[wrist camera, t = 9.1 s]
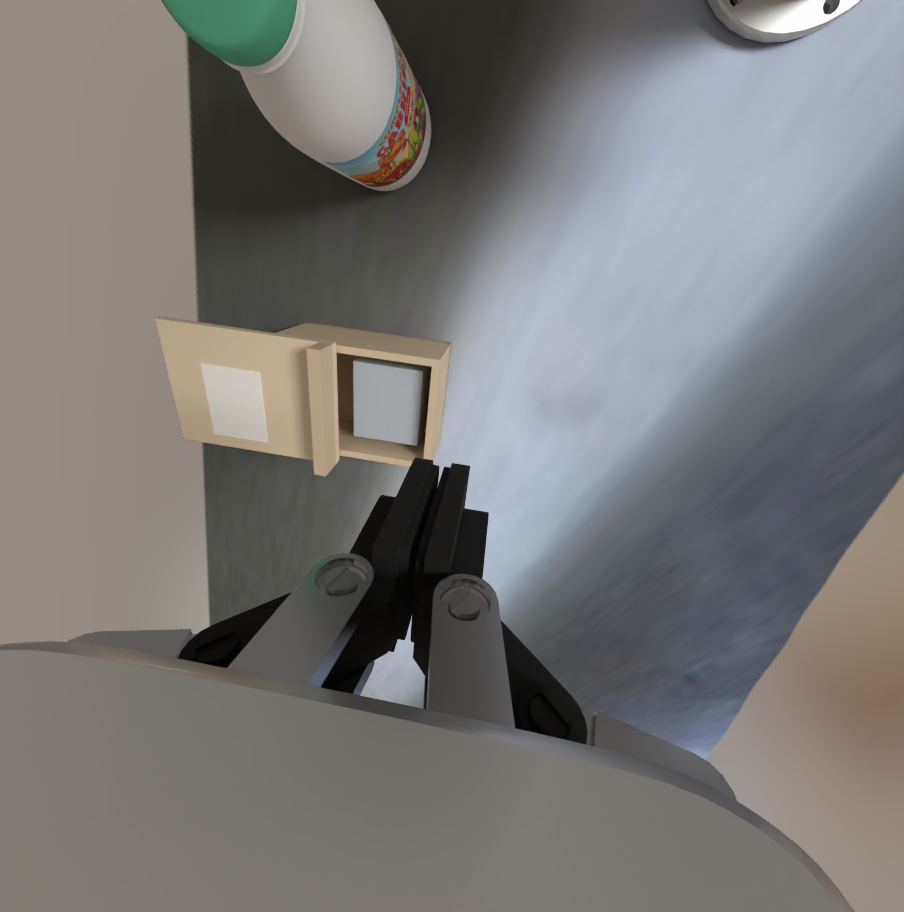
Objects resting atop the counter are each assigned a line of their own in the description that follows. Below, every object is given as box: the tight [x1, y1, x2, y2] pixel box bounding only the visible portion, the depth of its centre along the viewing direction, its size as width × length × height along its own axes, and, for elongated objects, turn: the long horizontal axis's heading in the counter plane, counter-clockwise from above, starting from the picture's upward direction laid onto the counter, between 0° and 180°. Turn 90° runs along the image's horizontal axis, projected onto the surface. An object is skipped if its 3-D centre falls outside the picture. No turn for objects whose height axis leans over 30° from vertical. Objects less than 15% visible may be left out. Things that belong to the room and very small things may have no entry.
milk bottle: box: [162, 0, 431, 191], centre depth 21 cm, size 8×8×20 cm
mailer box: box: [276, 322, 451, 467], centre depth 36 cm, size 14×10×7 cm
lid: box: [155, 317, 339, 476], centre depth 32 cm, size 14×11×3 cm
